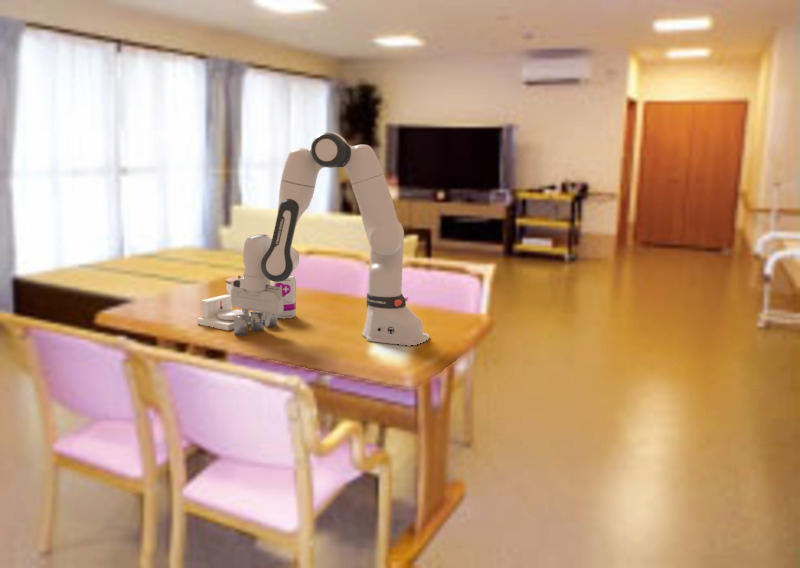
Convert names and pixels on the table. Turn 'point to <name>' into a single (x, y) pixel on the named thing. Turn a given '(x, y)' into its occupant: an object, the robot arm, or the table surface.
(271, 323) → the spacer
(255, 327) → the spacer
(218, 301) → the scale
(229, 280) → the lidded jar
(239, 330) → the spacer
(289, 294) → the supplement can
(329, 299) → the table surface
